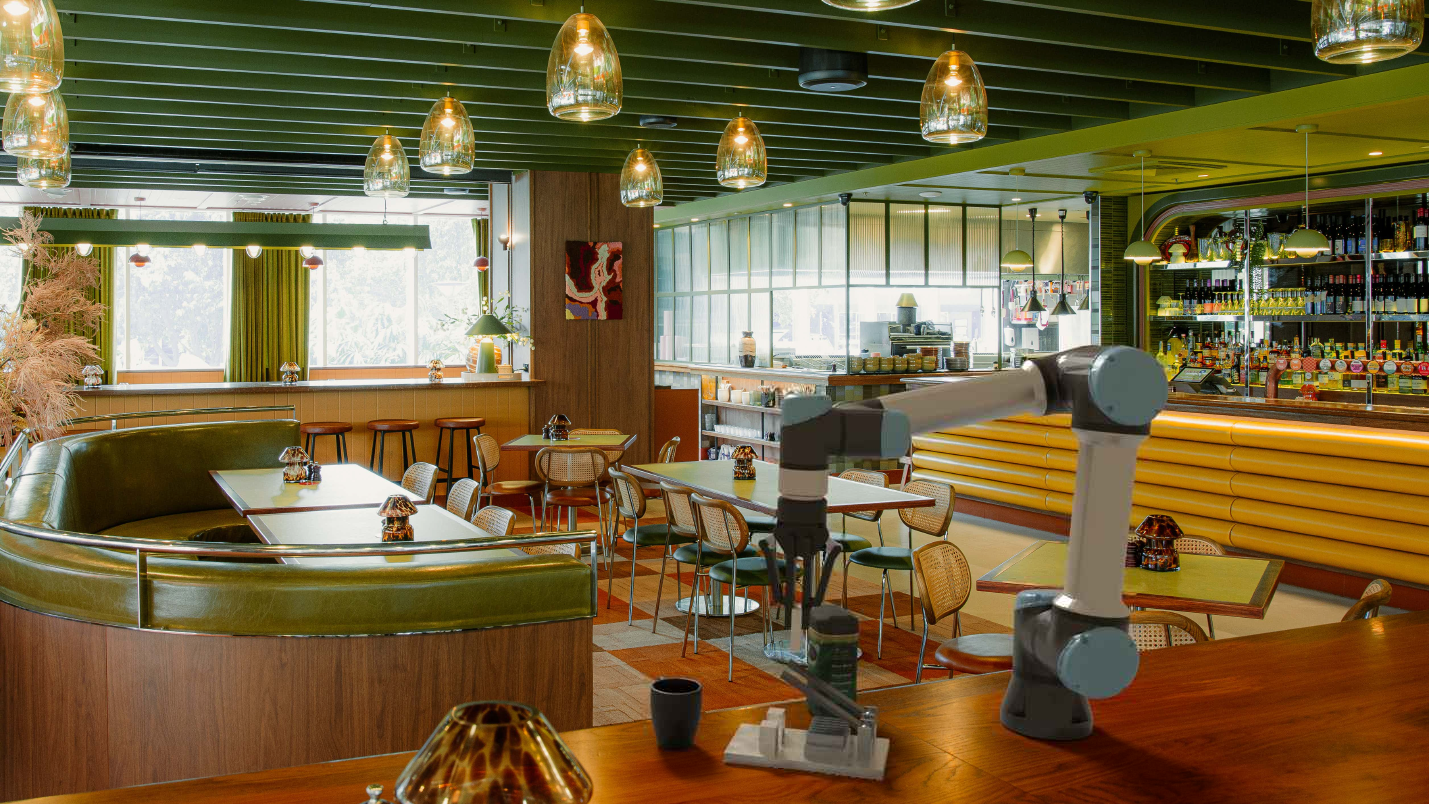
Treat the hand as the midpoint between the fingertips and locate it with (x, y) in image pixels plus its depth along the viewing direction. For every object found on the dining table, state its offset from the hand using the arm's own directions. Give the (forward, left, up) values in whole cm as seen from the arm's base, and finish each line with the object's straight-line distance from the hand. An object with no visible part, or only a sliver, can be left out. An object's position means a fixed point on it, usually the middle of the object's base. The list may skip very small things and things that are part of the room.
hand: (796, 649), depth 166 cm
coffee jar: (-3, -23, -18) cm, 29 cm away
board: (-2, -3, -17) cm, 18 cm away
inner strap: (-4, -6, -9) cm, 11 cm away
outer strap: (-4, 0, -9) cm, 10 cm away
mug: (+20, -3, -18) cm, 27 cm away
